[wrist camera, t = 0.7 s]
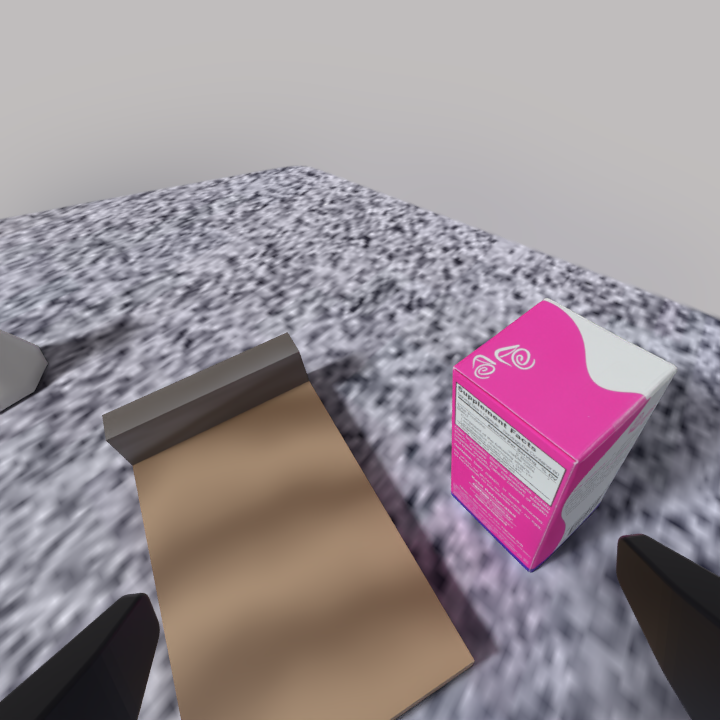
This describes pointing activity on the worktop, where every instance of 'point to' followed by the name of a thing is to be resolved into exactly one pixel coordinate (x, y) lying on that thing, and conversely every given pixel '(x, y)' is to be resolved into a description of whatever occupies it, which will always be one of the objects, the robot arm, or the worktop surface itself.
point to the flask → (18, 368)
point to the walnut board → (277, 553)
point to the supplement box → (547, 425)
